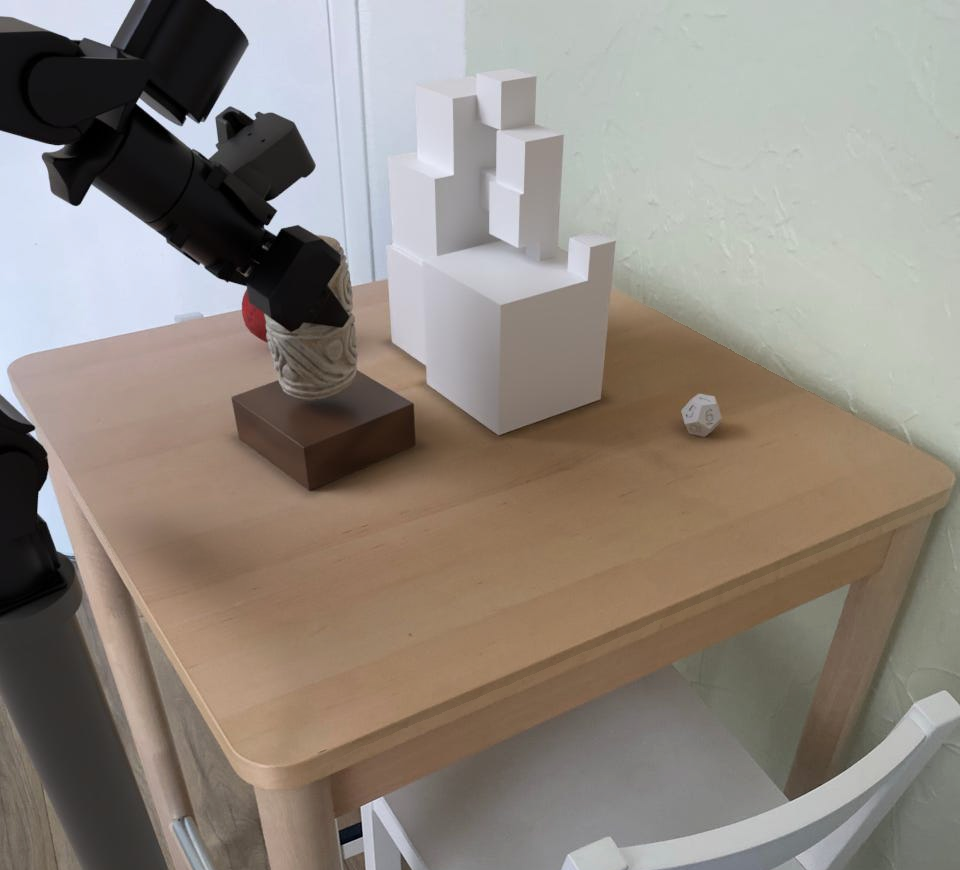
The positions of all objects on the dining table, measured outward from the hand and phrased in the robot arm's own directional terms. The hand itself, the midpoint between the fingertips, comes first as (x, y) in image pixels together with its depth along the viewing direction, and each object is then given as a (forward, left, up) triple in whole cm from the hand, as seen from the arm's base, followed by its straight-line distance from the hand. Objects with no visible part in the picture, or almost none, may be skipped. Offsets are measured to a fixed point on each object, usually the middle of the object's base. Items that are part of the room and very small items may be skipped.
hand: (325, 308), depth 76 cm
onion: (+6, +19, -12) cm, 23 cm away
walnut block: (-1, 0, -12) cm, 12 cm away
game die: (+25, -20, -12) cm, 34 cm away
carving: (-1, 0, -7) cm, 7 cm away
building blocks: (+18, +1, -12) cm, 21 cm away
